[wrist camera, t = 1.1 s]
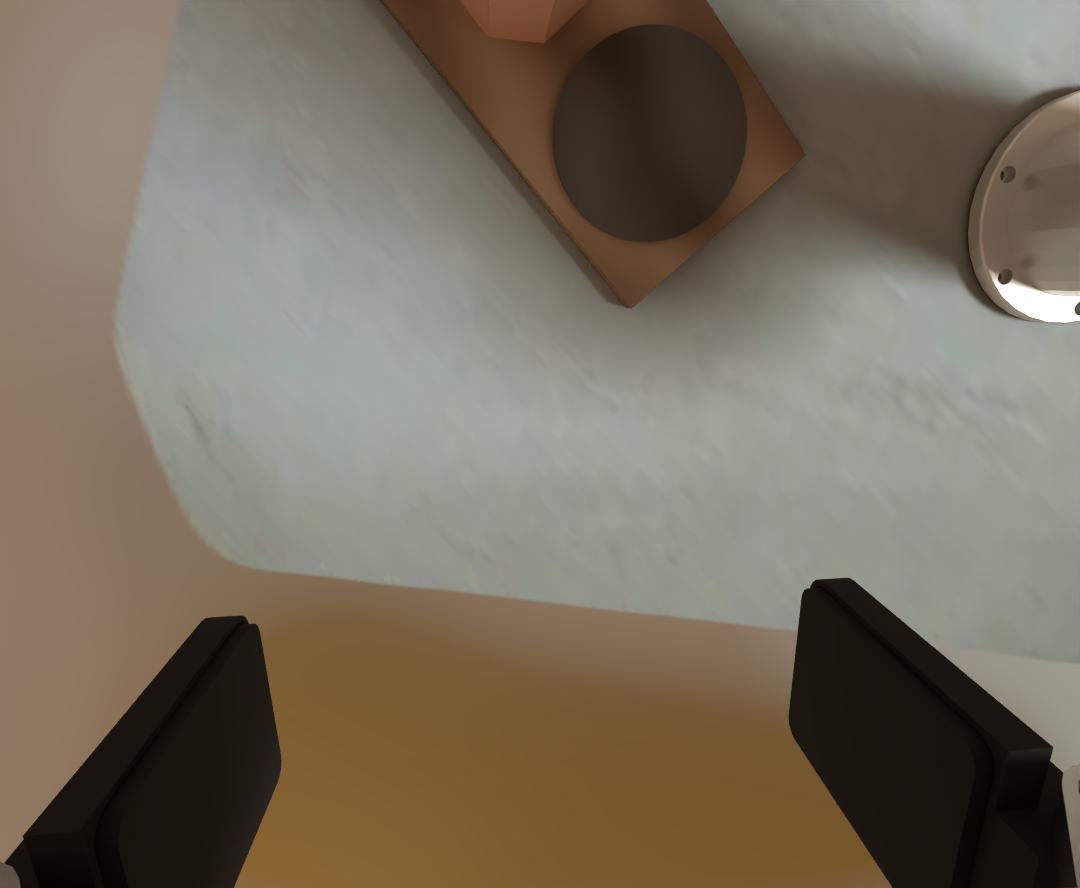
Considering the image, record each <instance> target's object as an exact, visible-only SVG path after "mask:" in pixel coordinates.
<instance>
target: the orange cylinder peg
mask: <svg viewBox="0 0 1080 888" xmlns="http://www.w3.org/2000/svg"><path fill="white" fill-rule="evenodd" d="M460 1H461V3H462V4H463V5H464V7H465V8H466V9H467V10H468V12H469V13H470V14H471V16H472V17H473V18H474V20H475V21H476V22H477V24H478V25H479V26H480V28H481V29H482V30H483V31H484V33H485V34H486V35H487V37H491V38H500V39H508V40H517V41H526V42H535V43H545V42H546V41H547V40H548V39H549V38H550V37H551V36H552V35H554V34H555V33H556V32H557V31H558V30H559V29H560V28H561V27H562V26H563V25H564V24H565V23H566V22H567V21H568V20H569V19H570V18H571V17H572V16H573V15H574V14H575V13H576V12H577V11H578V10H579V9H580V8H581V7H582V6H584V5H585V4H586V3H587V0H460Z"/></svg>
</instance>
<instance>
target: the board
mask: <svg viewBox="0 0 1080 888" xmlns="http://www.w3.org/2000/svg"><path fill="white" fill-rule="evenodd" d="M381 2H382V3H383V4H384V5H385V7H386V8H387V9H388V10H389V12H390V13H391V14H392V15H393V17H394V18H395V19H396V20H397V22H398V23H399V24H400V25H401V27H402V28H403V29H404V30H405V32H406V33H407V34H408V35H409V37H410V38H411V39H412V40H413V42H414V43H415V44H416V45H417V47H418V48H419V49H420V50H421V52H422V53H423V54H424V55H425V57H426V58H427V59H428V60H429V62H430V63H431V64H432V65H433V67H434V68H435V69H436V70H437V72H438V73H439V74H440V75H441V77H442V78H443V79H444V80H445V82H446V83H447V84H448V85H449V87H450V88H451V89H452V90H453V92H454V93H455V94H456V95H457V97H458V98H459V99H460V100H461V102H462V103H463V104H464V105H465V107H466V108H467V109H468V110H469V112H470V113H471V114H472V115H473V117H474V118H475V119H476V120H477V122H478V123H479V124H480V125H481V127H482V128H483V129H484V130H485V132H486V133H487V134H488V135H489V137H490V138H491V139H492V140H493V142H494V143H495V144H496V145H497V147H498V148H499V149H500V150H501V152H502V153H503V154H504V155H505V157H506V158H507V159H508V160H509V161H510V163H511V164H512V165H513V166H514V168H515V169H516V170H517V171H518V173H519V174H520V175H521V176H522V178H523V179H524V180H525V181H526V183H527V184H528V185H529V186H530V188H531V189H532V190H533V191H534V193H535V194H536V195H537V196H538V198H539V199H540V200H541V201H542V203H543V204H544V205H545V206H546V208H547V209H548V210H549V211H550V213H551V214H552V215H553V216H554V218H555V219H556V220H557V221H558V223H559V224H560V225H561V226H562V228H563V229H564V230H565V231H566V233H567V234H568V235H569V236H570V238H571V239H572V240H573V241H574V243H575V244H576V245H577V246H578V248H579V249H580V250H581V251H582V253H583V254H584V255H585V256H586V258H587V259H588V260H589V261H590V263H591V264H592V265H593V266H594V268H595V269H596V270H597V271H598V273H599V274H600V275H601V276H602V278H603V279H604V280H605V281H606V283H607V284H608V285H609V286H610V288H611V289H612V290H613V291H614V293H615V294H616V295H617V296H618V298H619V299H620V300H621V301H622V303H623V304H624V305H625V306H626V307H627V308H632V307H634V306H635V305H636V304H637V303H638V302H639V301H640V300H642V299H643V298H644V297H645V296H646V295H647V294H648V293H650V292H651V291H652V290H653V289H654V288H655V287H656V286H657V285H659V284H660V283H661V282H662V281H663V280H664V279H665V278H667V277H668V276H669V275H670V274H671V273H672V272H673V271H675V270H676V269H677V268H678V267H679V266H680V265H681V264H683V263H684V262H685V261H686V260H687V259H688V258H689V257H690V256H692V255H693V254H694V253H695V252H696V251H697V250H698V249H700V248H701V247H702V246H703V245H704V244H705V243H706V242H708V241H709V240H710V239H711V238H712V237H713V236H714V235H716V234H717V233H718V232H719V231H720V230H721V229H722V228H723V227H725V226H726V225H727V224H728V223H729V222H730V221H731V220H733V219H734V218H735V217H736V216H737V215H738V214H739V213H741V212H742V211H743V210H744V209H745V208H746V207H747V206H748V205H750V204H751V203H752V202H753V201H754V200H755V199H756V198H758V197H759V196H760V195H761V194H762V193H763V192H764V191H766V190H767V189H768V188H769V187H770V186H771V185H772V184H774V183H775V182H776V181H777V180H778V179H779V178H780V177H781V176H783V175H784V174H785V173H786V172H787V171H788V170H789V169H791V168H792V167H793V166H794V165H795V164H796V163H797V162H799V161H800V160H801V159H802V158H803V157H804V156H805V155H806V154H805V152H804V151H803V149H802V148H801V146H800V145H799V143H798V142H797V140H796V138H795V137H794V135H793V134H792V132H791V131H790V129H789V128H788V126H787V124H786V123H785V121H784V120H783V118H782V117H781V115H780V114H779V112H778V110H777V109H776V107H775V106H774V104H773V103H772V101H771V100H770V98H769V97H768V95H767V93H766V92H765V90H764V89H763V87H762V86H761V84H760V83H759V81H758V79H757V78H756V76H755V75H754V73H753V72H752V70H751V69H750V67H749V66H748V64H747V62H746V61H745V59H744V58H743V56H742V55H741V53H740V52H739V50H738V48H737V47H736V45H735V44H734V42H733V41H732V39H731V38H730V36H729V34H728V33H727V31H726V30H725V28H724V27H723V25H722V24H721V22H720V21H719V19H718V17H717V16H716V14H715V13H714V11H713V10H712V8H711V7H710V5H709V3H708V2H707V0H587V3H586V4H585V5H584V6H582V7H581V8H580V9H579V10H578V11H577V12H576V13H575V14H574V15H573V16H572V17H571V18H570V19H569V20H568V21H567V22H566V23H565V24H564V25H563V26H562V27H561V28H560V29H559V30H558V31H557V32H556V33H555V34H554V35H552V36H551V37H550V38H549V39H548V40H547V41H546V42H545V43H535V42H526V41H517V40H508V39H500V38H491V37H487V35H486V34H485V33H484V31H483V30H482V29H481V28H480V26H479V25H478V24H477V22H476V21H475V20H474V18H473V17H472V16H471V14H470V13H469V12H468V10H467V9H466V8H465V7H464V5H463V4H462V3H461V1H460V0H381Z"/></svg>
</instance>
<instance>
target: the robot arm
mask: <svg viewBox="0 0 1080 888" xmlns="http://www.w3.org/2000/svg"><path fill="white" fill-rule="evenodd" d="M968 240H969V253H970V257H971V261H972V265H973V268H974V272H975V274H976V276H977V278H978V280H979V282H980V284H981V286H982V288H983V290H984V291H985V292H986V293H987V295H988V296H989V297H990V298H991V299H992V300H993V302H994V303H995V304H997V305H998V306H999V307H1001V308H1002V309H1004V310H1005V311H1006V312H1008V313H1009V314H1012V315H1014V316H1017V317H1019V318H1022V319H1024V320H1028V321H1035V322H1041V323H1061V324H1065V323H1073V322H1079V321H1080V91H1076V92H1073V93H1070V94H1068V95H1065V96H1062V97H1059V98H1057V99H1054V100H1052V101H1050V102H1049V103H1047V104H1045V105H1043V106H1042V107H1040V108H1038V109H1037V110H1035V111H1033V112H1032V113H1031V114H1030V115H1029V116H1027V117H1026V118H1025V119H1024V120H1023V121H1021V122H1020V123H1019V124H1018V125H1017V126H1015V127H1014V129H1013V130H1012V131H1011V132H1010V133H1009V134H1008V136H1007V137H1006V138H1005V139H1004V140H1003V141H1002V142H1001V144H1000V145H999V146H998V148H997V149H996V151H995V152H994V154H993V156H992V157H991V159H990V160H989V162H988V164H987V165H986V167H985V169H984V171H983V174H982V176H981V178H980V181H979V183H978V185H977V187H976V191H975V194H974V198H973V202H972V206H971V210H970V217H969V228H968ZM789 725H790V729H791V732H792V735H793V737H794V739H795V740H796V742H797V743H798V745H799V747H800V748H801V750H802V751H803V753H804V754H805V755H806V757H807V759H808V760H809V762H810V763H811V765H812V766H813V768H814V769H815V771H816V772H817V774H818V775H819V777H820V778H821V780H822V781H823V783H824V784H825V786H826V787H827V789H828V790H829V792H830V794H831V795H832V797H833V798H834V800H835V801H836V803H837V804H838V805H839V807H840V809H841V810H842V812H843V813H844V815H845V816H846V818H847V819H848V821H849V822H850V824H851V825H852V827H853V828H854V830H855V831H856V833H857V834H858V836H859V837H860V839H861V841H862V842H863V844H864V845H865V847H866V848H867V849H868V851H869V852H870V854H871V856H872V857H873V859H874V860H875V862H876V863H877V865H878V866H879V868H880V869H881V871H882V872H883V874H884V875H885V877H886V878H887V880H888V881H889V883H890V884H891V886H892V888H1080V765H1075V766H1072V767H1070V768H1069V769H1068V770H1066V771H1065V772H1064V773H1063V772H1062V771H1061V770H1060V769H1058V768H1057V767H1056V766H1055V765H1054V764H1053V763H1052V762H1050V758H1051V755H1052V750H1053V747H1052V746H1051V745H1050V744H1049V743H1048V742H1046V741H1045V740H1044V739H1043V738H1042V737H1040V736H1039V735H1038V734H1037V733H1036V732H1034V731H1033V730H1032V729H1031V728H1030V727H1028V726H1027V725H1026V724H1025V723H1024V722H1022V721H1021V720H1020V719H1019V718H1018V717H1016V716H1015V715H1014V714H1013V713H1012V712H1010V711H1009V710H1008V709H1007V708H1006V707H1004V706H1003V705H1002V704H1001V703H1000V702H998V701H997V700H996V699H995V698H994V697H992V696H991V695H990V694H989V693H987V692H986V691H985V690H984V689H983V688H982V687H980V686H979V685H978V684H977V683H976V682H974V681H973V680H972V679H971V678H970V677H968V676H967V675H966V674H965V673H964V672H962V671H961V670H960V669H959V668H958V667H957V666H955V665H954V664H953V663H952V662H951V661H949V660H948V659H947V658H946V657H945V656H943V655H942V654H941V653H940V652H939V651H937V650H936V649H935V648H934V647H933V646H931V645H930V644H929V643H928V642H927V641H925V640H924V639H923V638H922V637H921V636H919V635H918V634H917V633H916V632H915V631H913V630H912V629H911V628H910V627H909V626H907V625H906V624H905V623H904V622H903V621H901V620H900V619H899V618H898V617H897V616H895V615H894V614H893V613H892V612H891V611H889V610H888V609H887V608H886V607H885V606H883V605H882V604H881V603H880V602H879V601H877V600H876V599H875V598H874V597H873V596H872V595H870V594H869V593H868V592H867V591H866V590H864V589H863V588H862V587H861V586H860V585H858V584H857V583H856V582H855V581H853V580H852V579H850V578H836V579H820V580H815V581H814V582H813V583H812V585H811V587H810V588H809V589H805V590H804V592H803V594H802V599H801V608H800V617H799V626H798V636H797V644H796V654H795V663H794V673H793V681H792V690H791V699H790V708H789ZM280 771H281V754H280V747H279V742H278V735H277V729H276V724H275V718H274V712H273V706H272V700H271V695H270V688H269V683H268V677H267V671H266V665H265V659H264V654H263V647H262V642H261V636H260V631H259V628H258V626H257V625H256V624H249V623H248V621H247V619H246V617H244V616H226V617H212V618H211V617H210V618H205V619H204V620H203V621H202V622H201V623H200V624H199V625H198V626H197V627H196V629H195V630H194V631H193V632H192V633H191V635H190V636H189V637H188V638H187V639H186V641H185V642H184V643H183V644H182V645H181V647H180V648H179V649H178V650H177V652H176V653H175V654H174V655H173V656H172V658H171V659H170V660H169V661H168V662H167V664H166V665H165V666H164V667H163V668H162V670H161V671H160V672H159V673H158V675H157V676H156V677H155V678H154V679H153V680H152V682H151V683H150V684H149V685H148V686H147V688H146V689H145V690H144V691H143V692H142V694H141V695H140V696H139V697H138V698H137V700H136V701H135V702H134V703H133V705H132V706H131V707H130V708H129V709H128V711H127V712H126V713H125V714H124V715H123V716H122V718H121V719H120V720H119V721H118V723H117V724H116V725H115V726H114V727H113V729H112V730H111V731H110V732H109V733H108V735H107V736H106V737H105V738H104V739H103V740H102V742H101V743H100V744H99V746H98V747H97V748H96V749H95V750H94V751H93V753H92V754H91V755H90V756H89V757H88V759H87V760H86V761H85V762H84V763H83V765H82V766H81V767H80V768H79V769H78V771H77V772H76V773H75V774H74V775H73V777H72V778H71V779H70V780H69V781H68V783H67V784H66V785H65V786H64V787H63V789H62V790H61V791H60V792H59V793H58V795H57V796H56V797H55V798H54V800H53V801H52V802H51V803H50V804H49V805H48V807H47V808H46V809H45V810H44V811H43V813H42V814H41V815H40V816H39V817H38V819H37V820H36V821H35V822H34V824H33V825H32V826H31V827H30V828H29V829H28V831H27V832H26V833H25V834H24V835H23V838H24V840H23V841H22V842H21V843H20V845H19V846H18V847H17V848H16V850H15V851H14V852H13V853H12V854H11V856H10V857H9V858H8V859H7V860H6V862H5V863H2V862H0V888H234V886H235V883H236V881H237V879H238V876H239V874H240V871H241V869H242V867H243V864H244V862H245V859H246V857H247V855H248V852H249V850H250V847H251V845H252V843H253V840H254V838H255V835H256V833H257V831H258V828H259V826H260V823H261V821H262V819H263V816H264V814H265V811H266V809H267V806H268V804H269V802H270V799H271V797H272V795H273V792H274V790H275V787H276V785H277V783H278V779H279V776H280Z"/></svg>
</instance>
